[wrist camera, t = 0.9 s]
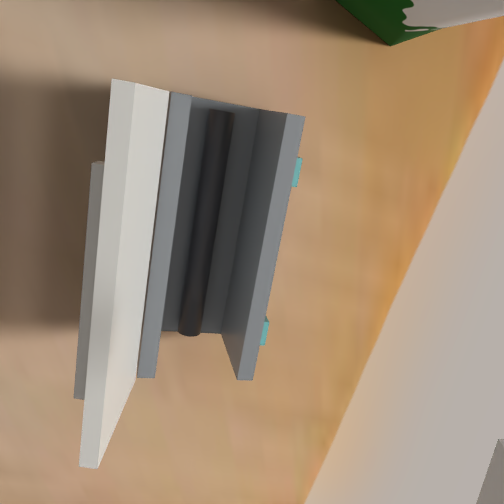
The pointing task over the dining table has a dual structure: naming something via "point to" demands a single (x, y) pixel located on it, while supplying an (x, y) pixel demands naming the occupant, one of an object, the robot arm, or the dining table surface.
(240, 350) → the stand
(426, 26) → the milk carton
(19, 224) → the dining table surface
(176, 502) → the dining table surface
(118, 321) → the cover
